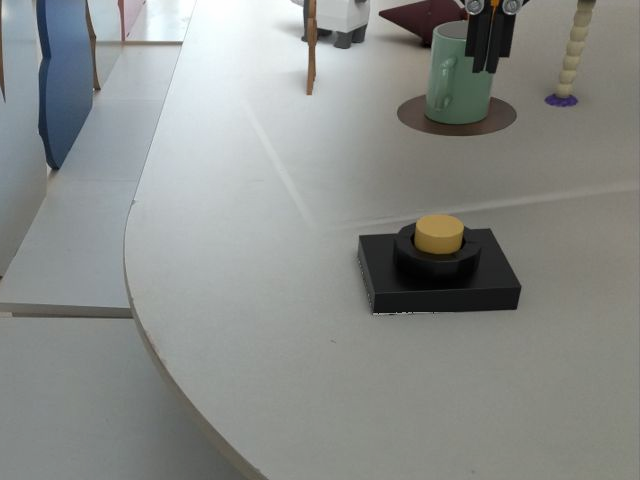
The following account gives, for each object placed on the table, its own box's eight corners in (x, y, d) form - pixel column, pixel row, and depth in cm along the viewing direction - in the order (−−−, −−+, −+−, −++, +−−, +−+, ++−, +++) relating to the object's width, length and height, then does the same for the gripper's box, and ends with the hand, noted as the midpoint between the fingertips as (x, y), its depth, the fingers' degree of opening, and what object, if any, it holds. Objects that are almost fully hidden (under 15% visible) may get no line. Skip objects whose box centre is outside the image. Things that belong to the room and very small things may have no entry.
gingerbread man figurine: (299, 82, 104) (299, -15, 97) (329, 81, 103) (332, -17, 96) (292, 107, 97) (293, 6, 90) (324, 107, 96) (327, 4, 89)
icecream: (373, 3, 107) (487, 17, 102) (388, -25, 111) (499, -13, 106) (369, 49, 113) (477, 65, 107) (383, 21, 116) (488, 34, 111)
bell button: (455, 232, 64) (458, 212, 63) (465, 254, 61) (469, 235, 60) (410, 234, 65) (412, 215, 64) (418, 257, 62) (421, 238, 61)
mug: (437, 97, 92) (446, 17, 87) (496, 106, 89) (510, 23, 83) (404, 129, 86) (412, 45, 81) (466, 139, 83) (478, 52, 77)
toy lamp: (588, 107, 89) (627, -54, 79) (579, 123, 86) (619, -43, 76) (544, 102, 92) (576, -55, 81) (533, 117, 89) (565, -45, 78)
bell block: (486, 250, 68) (493, 209, 66) (516, 310, 61) (526, 266, 59) (357, 256, 69) (360, 216, 67) (372, 316, 62) (376, 273, 60)
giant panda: (373, 40, 114) (378, -31, 108) (350, 51, 112) (353, -21, 106) (295, 25, 123) (296, -41, 118) (272, 35, 121) (271, -32, 115)
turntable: (497, 98, 94) (499, 88, 93) (531, 142, 84) (533, 132, 83) (386, 105, 95) (387, 96, 94) (406, 150, 85) (407, 140, 84)
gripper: (674, -272, 45) (601, 51, 57) (407, -242, 51) (389, 47, 62) (684, -264, 40) (601, 90, 51) (385, -231, 45) (370, 82, 57)
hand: (485, 66), depth 57 cm, fingers closed
